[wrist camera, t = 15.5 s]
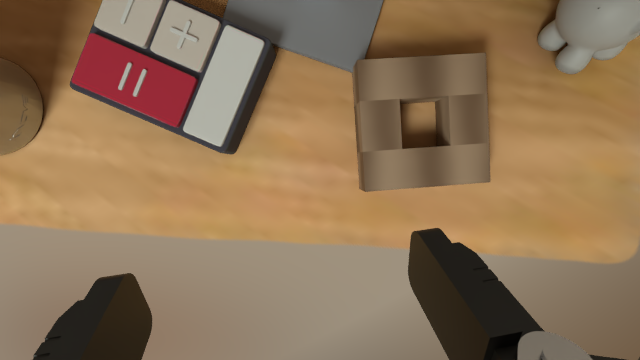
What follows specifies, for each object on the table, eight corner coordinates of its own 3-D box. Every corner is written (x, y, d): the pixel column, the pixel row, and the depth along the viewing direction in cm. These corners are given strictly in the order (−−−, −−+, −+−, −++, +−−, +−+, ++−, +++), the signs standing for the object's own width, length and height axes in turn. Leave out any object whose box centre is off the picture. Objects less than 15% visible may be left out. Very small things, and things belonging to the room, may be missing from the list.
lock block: (359, 188, 33) (365, 191, 30) (351, 69, 32) (357, 59, 29) (473, 180, 34) (490, 182, 31) (469, 62, 33) (485, 52, 30)
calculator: (108, -36, 27) (271, 36, 28) (136, -9, 32) (277, 53, 32) (59, 84, 28) (222, 154, 28) (94, 95, 32) (234, 156, 32)
